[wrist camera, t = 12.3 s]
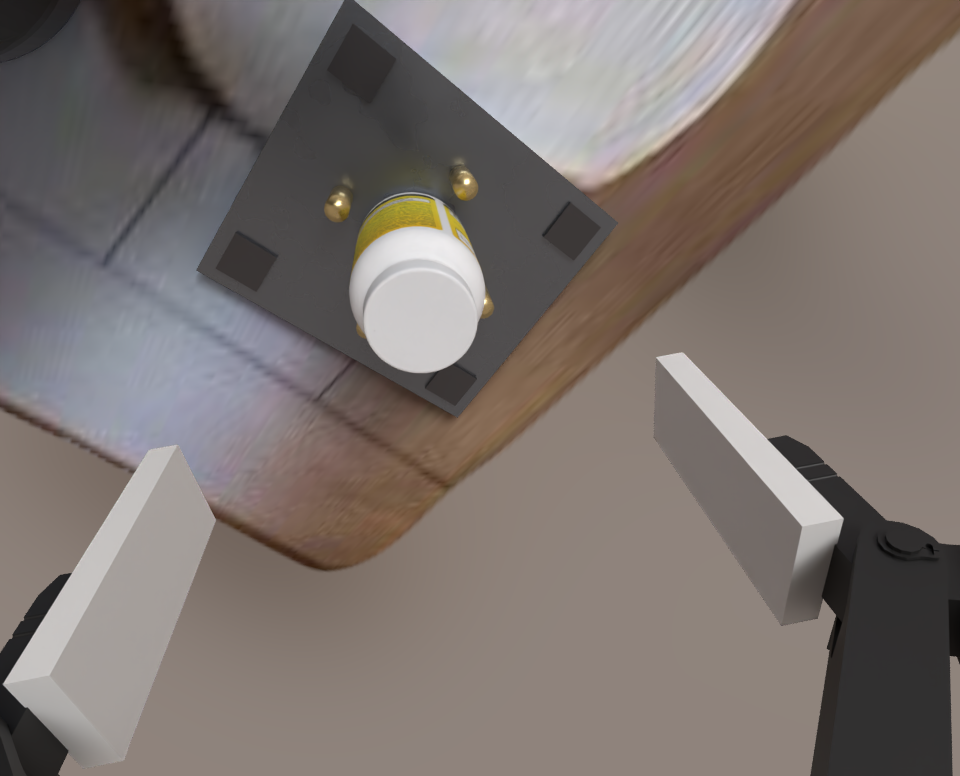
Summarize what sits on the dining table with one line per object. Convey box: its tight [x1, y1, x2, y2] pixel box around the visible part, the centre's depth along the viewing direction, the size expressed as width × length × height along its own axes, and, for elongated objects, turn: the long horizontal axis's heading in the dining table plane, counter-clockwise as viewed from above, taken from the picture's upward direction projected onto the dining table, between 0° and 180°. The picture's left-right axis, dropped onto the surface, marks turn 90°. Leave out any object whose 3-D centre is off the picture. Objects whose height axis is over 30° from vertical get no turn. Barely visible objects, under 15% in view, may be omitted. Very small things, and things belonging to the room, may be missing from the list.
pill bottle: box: [349, 192, 485, 373], centre depth 28 cm, size 6×6×11 cm
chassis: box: [197, 0, 618, 418], centre depth 32 cm, size 18×16×4 cm
